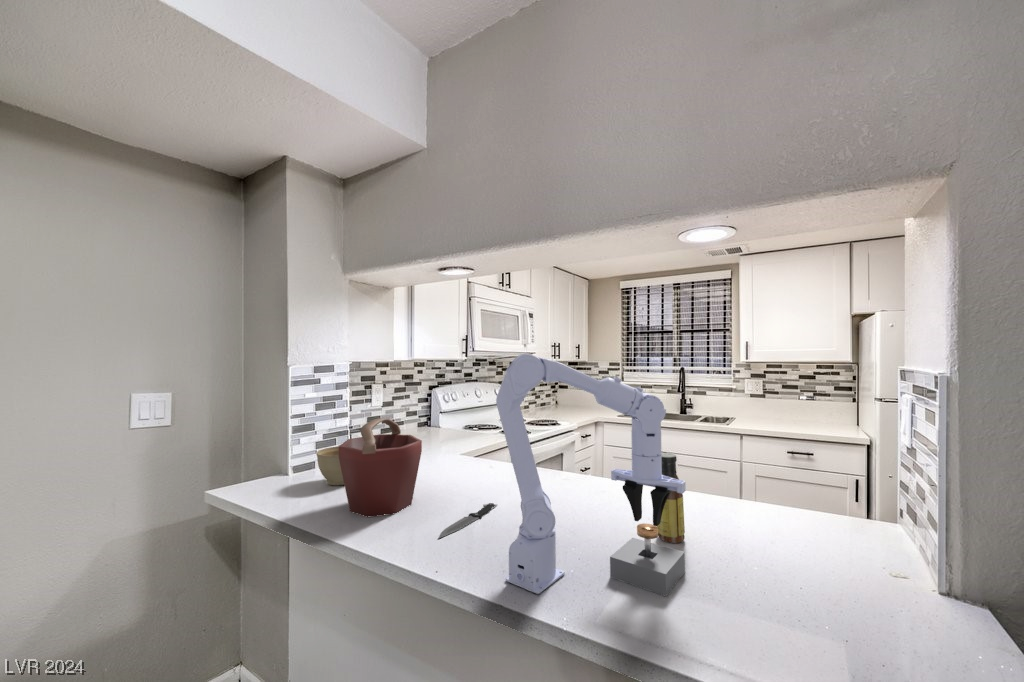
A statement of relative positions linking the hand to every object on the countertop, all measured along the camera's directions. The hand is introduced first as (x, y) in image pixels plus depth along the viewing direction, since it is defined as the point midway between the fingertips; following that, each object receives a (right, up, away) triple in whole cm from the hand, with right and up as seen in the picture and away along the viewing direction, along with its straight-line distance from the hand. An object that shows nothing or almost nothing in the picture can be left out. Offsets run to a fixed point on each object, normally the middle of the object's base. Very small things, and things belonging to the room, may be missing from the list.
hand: (647, 521), depth 87 cm
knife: (-39, -12, +28) cm, 49 cm away
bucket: (-66, -12, +39) cm, 77 cm away
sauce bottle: (+10, -11, +16) cm, 22 cm away
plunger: (0, -7, 0) cm, 7 cm away
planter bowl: (-85, -12, +63) cm, 107 cm away
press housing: (0, -10, 0) cm, 10 cm away
